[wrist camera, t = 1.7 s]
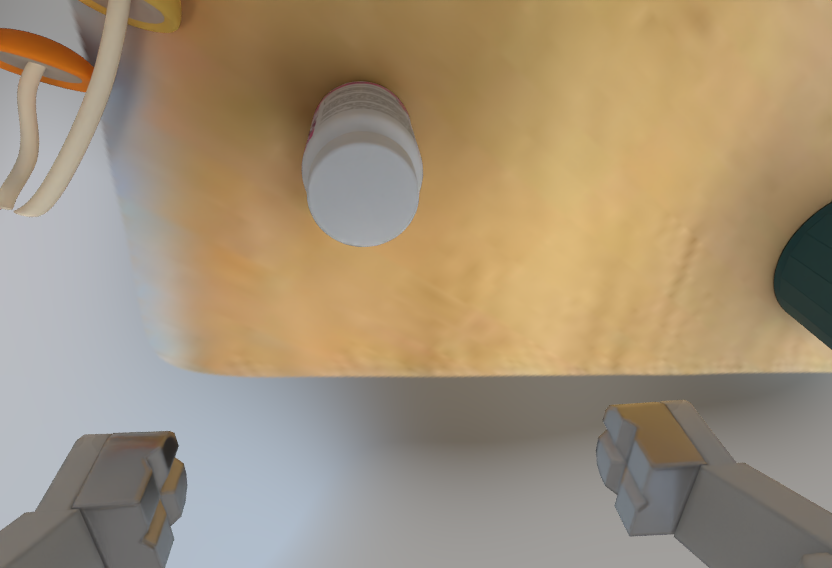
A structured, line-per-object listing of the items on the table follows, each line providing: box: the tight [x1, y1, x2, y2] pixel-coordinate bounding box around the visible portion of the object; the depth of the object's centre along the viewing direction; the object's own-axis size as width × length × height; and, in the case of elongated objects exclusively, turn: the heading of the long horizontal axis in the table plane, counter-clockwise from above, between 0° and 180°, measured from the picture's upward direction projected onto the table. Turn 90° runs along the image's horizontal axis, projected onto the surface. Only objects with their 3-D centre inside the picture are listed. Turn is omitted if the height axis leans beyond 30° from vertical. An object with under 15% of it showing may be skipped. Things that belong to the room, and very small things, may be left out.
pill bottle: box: [302, 81, 423, 247], centre depth 23 cm, size 5×5×8 cm
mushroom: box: [0, 0, 181, 217], centre depth 21 cm, size 7×8×15 cm
